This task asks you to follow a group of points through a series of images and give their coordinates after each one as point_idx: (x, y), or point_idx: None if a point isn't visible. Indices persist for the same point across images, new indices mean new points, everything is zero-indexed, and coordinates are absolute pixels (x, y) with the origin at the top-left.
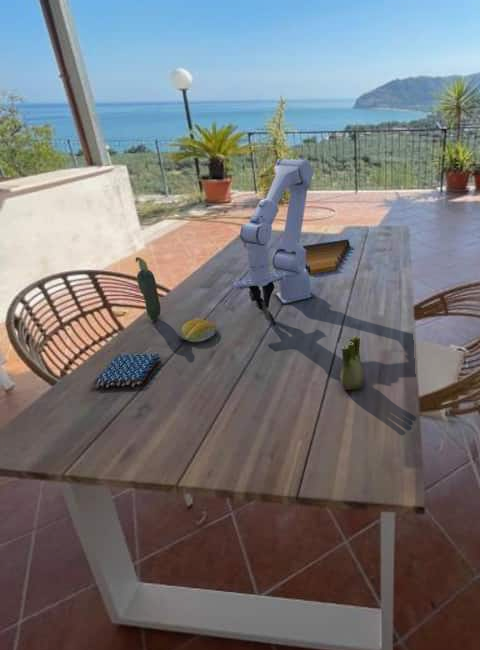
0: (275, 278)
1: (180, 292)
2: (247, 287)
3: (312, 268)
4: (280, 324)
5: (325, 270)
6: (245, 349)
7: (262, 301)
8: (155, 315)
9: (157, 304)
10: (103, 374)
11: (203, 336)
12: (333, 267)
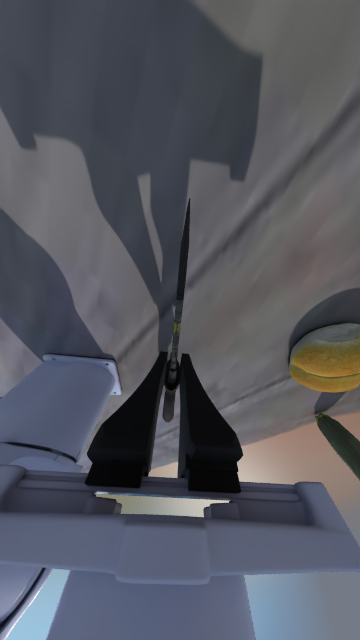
0: (25, 548)
1: (242, 441)
2: (248, 485)
3: None
4: (151, 284)
5: None
6: (320, 201)
7: (169, 378)
8: (336, 424)
9: (354, 451)
10: None
11: (356, 330)
12: None
